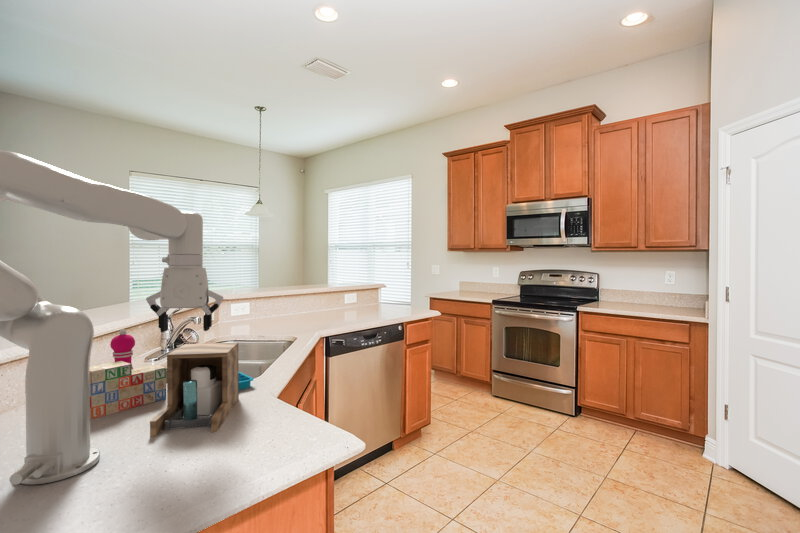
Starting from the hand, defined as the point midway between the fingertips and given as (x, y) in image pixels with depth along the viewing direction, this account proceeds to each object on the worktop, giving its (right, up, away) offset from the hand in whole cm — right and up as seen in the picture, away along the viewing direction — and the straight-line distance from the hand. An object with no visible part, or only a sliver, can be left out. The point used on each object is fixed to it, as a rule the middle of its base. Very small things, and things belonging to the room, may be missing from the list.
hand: (185, 330), depth 100 cm
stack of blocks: (-23, -23, +10) cm, 34 cm away
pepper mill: (-28, -23, +18) cm, 41 cm away
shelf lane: (+1, -23, +5) cm, 23 cm away
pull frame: (+1, -23, +5) cm, 24 cm away
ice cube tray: (-4, -23, +31) cm, 39 cm away
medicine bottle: (+1, -23, +8) cm, 24 cm away
